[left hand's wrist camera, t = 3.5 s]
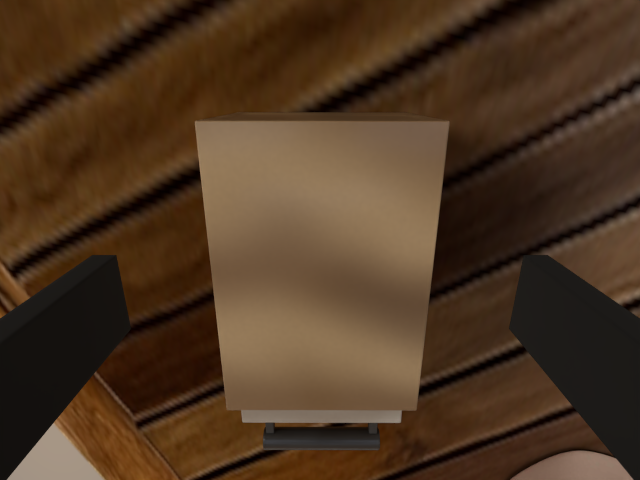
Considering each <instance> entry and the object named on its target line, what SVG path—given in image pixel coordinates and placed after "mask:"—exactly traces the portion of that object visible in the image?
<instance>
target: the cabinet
mask: <svg viewBox="0 0 640 480" xmlns="http://www.w3.org/2000/svg"><path fill="white" fill-rule="evenodd" d="M449 124H450V122H449V121H447V120H442V119H437V118H432V117H426V116H421V115H416V114H411V113H406V112H238V113H233V114H228V115H223V116H218V117H213V118H208V119H203V120H198V121H195V128H196V137H197V146H198V155H199V164H200V173H201V182H202V191H203V200H204V209H205V218H206V227H207V236H208V245H209V254H210V263H211V272H212V281H213V290H214V299H215V308H216V317H217V326H218V335H219V344H220V353H221V362H222V371H223V379H224V388H225V397H226V406H227V410H410V411H416V410H417V401H418V393H419V384H420V375H421V367H422V358H423V349H424V341H425V332H426V323H427V315H428V306H429V297H430V289H431V280H432V271H433V263H434V254H435V245H436V237H437V228H438V219H439V210H440V202H441V193H442V184H443V176H444V167H445V158H446V150H447V141H448V132H449Z"/></svg>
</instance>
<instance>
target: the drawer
mask: <svg viewBox="0 0 640 480" xmlns="http://www.w3.org/2000/svg"><path fill="white" fill-rule="evenodd" d="M241 412H242V422H259V423H266V427H265V429H264V435H263V448H264V450H379V448H380V436H379V429H378V427H377V423H401V415H402V410H241ZM275 423H368V427H275Z"/></svg>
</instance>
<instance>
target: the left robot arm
mask: <svg viewBox="0 0 640 480" xmlns="http://www.w3.org/2000/svg"><path fill="white" fill-rule="evenodd" d="M130 329H131V327H130V322H129V317H128V312H127V307H126V302H125V297H124V292H123V287H122V282H121V277H120V272H119V267H118V262H117V257H116V255H92V256H91V257H89V258H88V259H86V260H85V261H83V262H82V263H80V264H79V265H77V266H76V267H75V268H73V269H72V270H70V271H69V272H67V273H66V274H64V275H63V276H61V277H60V278H59V279H57V280H56V281H54V282H53V283H51V284H50V285H48V286H47V287H45V288H44V289H43V290H41V291H40V292H38V293H37V294H35V295H34V296H32V297H31V298H29V299H28V300H26V301H25V302H24V303H22V304H21V305H19V306H18V307H16V308H15V309H13V310H12V311H10V312H9V313H8V314H6V315H5V316H3V317H2V318H0V480H7V479H8V477H9V476H10V475H11V474H12V472H13V471H14V470H15V469H16V468H17V466H18V465H19V464H20V463H21V462H22V460H23V459H24V458H25V457H26V455H27V454H28V453H29V452H30V451H31V449H32V448H33V447H34V446H35V445H36V443H37V442H38V441H39V440H40V438H41V437H42V436H43V435H44V434H45V432H46V431H47V430H48V429H49V427H50V426H51V425H52V424H53V423H54V421H55V420H56V419H57V418H58V417H59V415H60V414H61V413H62V412H63V411H64V409H65V408H66V407H67V406H68V404H69V403H70V402H71V401H72V400H73V398H74V397H75V396H76V395H77V394H78V392H79V391H80V390H81V389H82V387H83V386H84V385H85V384H86V383H87V381H88V380H89V379H90V378H91V377H92V375H93V374H94V373H95V372H96V370H97V369H98V368H99V367H100V366H101V364H102V363H103V362H104V361H105V360H106V358H107V357H108V356H109V355H110V353H111V352H112V351H113V350H114V349H115V347H116V346H117V345H118V344H119V343H120V341H121V340H122V339H123V338H124V336H125V335H126V334H127V333H128V332H129V330H130ZM509 329H510V330H511V332H512V333H513V334H514V335H515V336H516V338H517V339H518V340H519V341H520V343H521V344H522V345H523V346H524V347H525V349H526V350H527V351H528V352H529V353H530V355H531V356H532V357H533V358H534V360H535V361H536V362H537V363H538V364H539V366H540V367H541V368H542V369H543V370H544V372H545V373H546V374H547V375H548V377H549V378H550V379H551V380H552V381H553V383H554V384H555V385H556V386H557V387H558V389H559V390H560V391H561V392H562V394H563V395H564V396H565V397H566V398H567V400H568V401H569V402H570V403H571V404H572V406H573V407H574V408H575V409H576V411H577V412H578V413H579V414H580V415H581V417H582V418H583V419H584V420H585V421H586V423H587V424H588V425H589V426H590V428H591V429H592V430H593V431H594V432H595V434H596V435H597V436H598V437H599V438H600V440H601V441H602V442H603V443H604V445H605V446H606V447H607V448H608V449H609V451H610V452H611V453H612V454H613V455H614V457H615V458H616V459H617V460H618V462H619V463H620V464H621V465H622V466H623V468H624V469H625V470H626V471H627V472H628V474H629V475H630V476H631V477H632V479H633V480H640V318H638V317H637V316H635V315H634V314H632V313H631V312H630V311H628V310H627V309H625V308H624V307H622V306H621V305H619V304H618V303H616V302H615V301H614V300H612V299H611V298H609V297H608V296H606V295H605V294H603V293H602V292H600V291H599V290H597V289H596V288H595V287H593V286H592V285H590V284H589V283H587V282H586V281H584V280H583V279H581V278H580V277H579V276H577V275H576V274H574V273H573V272H571V271H570V270H568V269H567V268H565V267H564V266H563V265H561V264H560V263H558V262H557V261H555V260H554V259H552V258H551V257H549V256H548V255H524V257H523V262H522V267H521V272H520V277H519V282H518V287H517V292H516V297H515V302H514V307H513V312H512V317H511V322H510V326H509Z"/></svg>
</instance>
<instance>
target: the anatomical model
mask: <svg viewBox="0 0 640 480" xmlns="http://www.w3.org/2000/svg"><path fill="white" fill-rule="evenodd" d="M510 480H633V479H632V477H631V476H630V475H629V474H628V472H627V471H626V470H625V469H624V468H623V466H622V465H621V464H620V463H619V462H618V460H617V459H616V458H613V457H610V456H607V455H604V454H600V453H596V452H590V451H569V452H564V453H560V454H557V455H554V456H551V457H549V458H546V459H544V460H542V461H540V462H538V463H536V464H534V465H532V466H530V467H528V468H527V469H525V470H523V471H521V472H520V473H518V474H517V475H515V476H514V477H513V478H511V479H510Z"/></svg>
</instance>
